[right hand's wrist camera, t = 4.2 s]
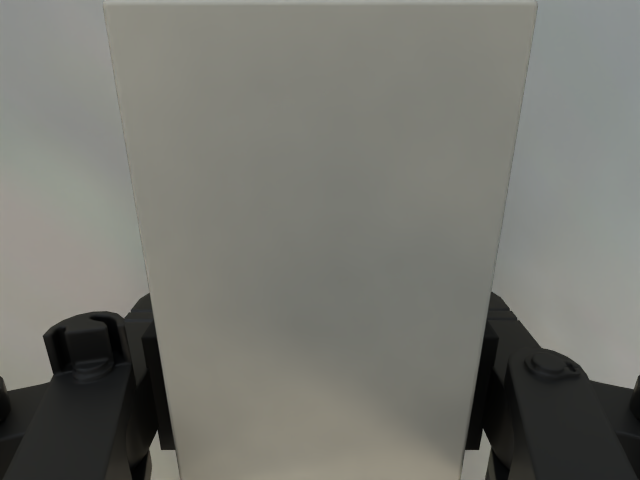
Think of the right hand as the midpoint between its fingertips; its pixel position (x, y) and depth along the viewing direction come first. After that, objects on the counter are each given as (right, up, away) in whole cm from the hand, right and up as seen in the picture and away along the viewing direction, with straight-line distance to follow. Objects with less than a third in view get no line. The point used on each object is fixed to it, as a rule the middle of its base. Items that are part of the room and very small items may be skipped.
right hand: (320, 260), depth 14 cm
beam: (0, -29, +12) cm, 31 cm away
